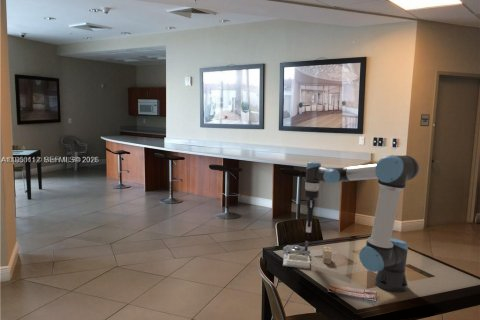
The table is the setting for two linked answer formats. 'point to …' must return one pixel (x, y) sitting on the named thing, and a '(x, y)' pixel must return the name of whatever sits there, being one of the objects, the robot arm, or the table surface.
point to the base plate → (296, 260)
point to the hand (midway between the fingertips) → (308, 231)
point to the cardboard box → (327, 255)
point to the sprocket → (297, 249)
